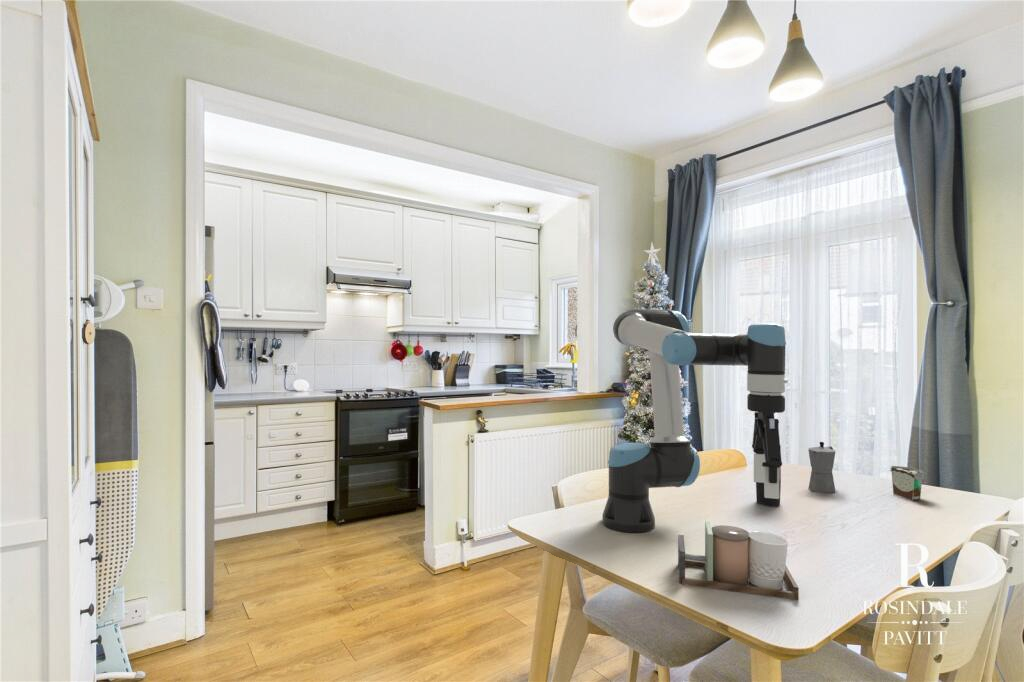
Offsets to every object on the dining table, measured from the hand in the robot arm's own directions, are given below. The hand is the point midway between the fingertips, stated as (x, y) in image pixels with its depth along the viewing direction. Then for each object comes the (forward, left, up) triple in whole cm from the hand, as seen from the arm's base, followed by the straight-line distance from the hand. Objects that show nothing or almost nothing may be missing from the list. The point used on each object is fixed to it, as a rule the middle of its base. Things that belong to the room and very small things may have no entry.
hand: (765, 489), depth 114 cm
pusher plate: (-14, 0, -21) cm, 25 cm away
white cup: (0, 0, -21) cm, 21 cm away
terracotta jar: (-7, 0, -21) cm, 22 cm away
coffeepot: (+36, +95, -21) cm, 103 cm away
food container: (+63, +93, -21) cm, 114 cm away
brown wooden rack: (-7, 0, -21) cm, 22 cm away
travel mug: (+12, +68, -21) cm, 72 cm away
